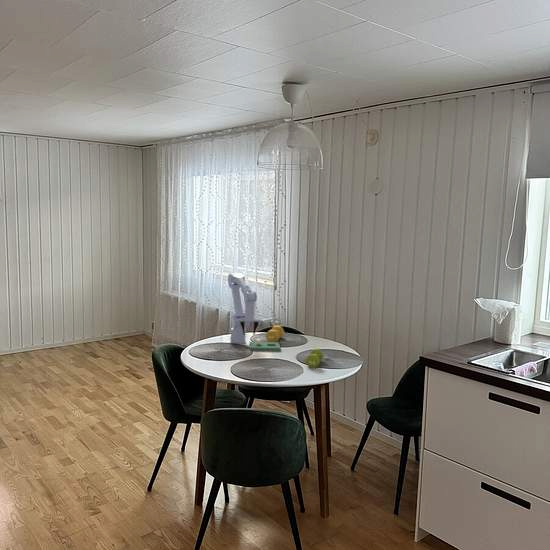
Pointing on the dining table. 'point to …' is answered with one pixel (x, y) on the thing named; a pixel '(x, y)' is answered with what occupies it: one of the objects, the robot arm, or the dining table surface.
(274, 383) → the dining table surface
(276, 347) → the putting deck
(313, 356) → the green grapes
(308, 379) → the dining table surface
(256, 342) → the ball
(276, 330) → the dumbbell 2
